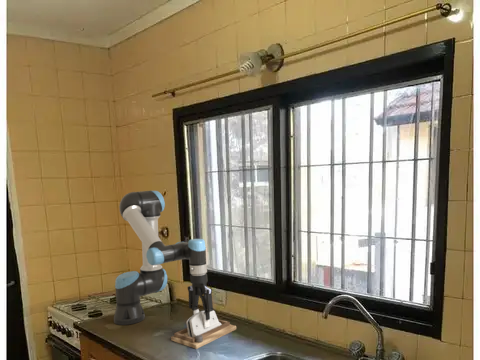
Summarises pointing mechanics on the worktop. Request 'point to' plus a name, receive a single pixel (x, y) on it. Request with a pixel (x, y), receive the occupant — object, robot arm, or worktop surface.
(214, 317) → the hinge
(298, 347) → the worktop surface
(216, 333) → the wooden tray
